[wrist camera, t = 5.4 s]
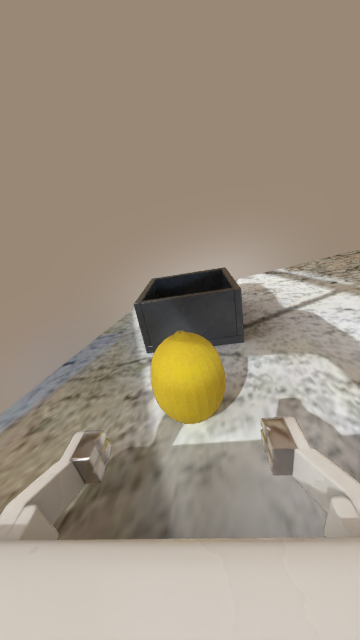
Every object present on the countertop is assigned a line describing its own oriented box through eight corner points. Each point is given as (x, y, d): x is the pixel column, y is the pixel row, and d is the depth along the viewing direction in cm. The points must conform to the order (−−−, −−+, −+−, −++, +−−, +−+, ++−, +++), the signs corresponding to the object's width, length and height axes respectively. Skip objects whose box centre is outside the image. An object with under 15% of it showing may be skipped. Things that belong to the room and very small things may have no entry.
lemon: (190, 464, 14) (168, 367, 11) (150, 415, 19) (126, 336, 16) (243, 416, 17) (238, 327, 14) (198, 383, 21) (186, 310, 18)
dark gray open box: (146, 353, 28) (133, 304, 26) (160, 315, 40) (151, 278, 37) (244, 342, 27) (241, 288, 24) (228, 306, 38) (225, 267, 36)
